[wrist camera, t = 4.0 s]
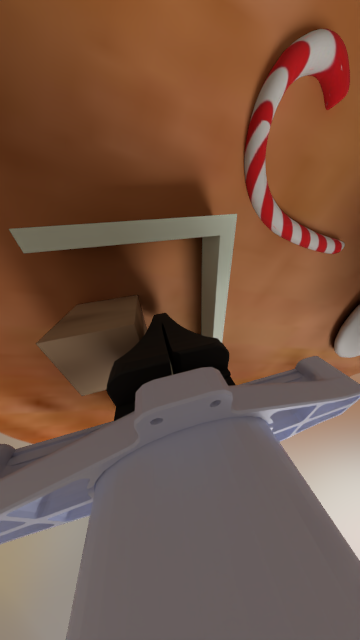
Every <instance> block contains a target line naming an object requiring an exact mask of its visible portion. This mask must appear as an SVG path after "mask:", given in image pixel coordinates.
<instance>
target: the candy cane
mask: <svg viewBox="0 0 360 640" xmlns="http://www.w3.org/2000/svg"><path fill="white" fill-rule="evenodd" d="M306 75H311V76H314V77H316V78H317V79H318V80H319V83H320V85H321V88H322V91H323V95H324V102H325V107H326V110H329V109H330V108H332V107H333V106H335V105H336V104H337V103H339V102H340V101H341V100H342V99H343V98H344V97H345V96H346V94H347V93H348V90H349V85H350V69H349V61H348V54H347V50H346V46H345V44H344V42H343V40H342V39H341V38H340V36H339V35H338V34H337V33H335V32H334V31H331V30H329V29H318V30H315V31H312V32H310V33H308V34H306V35H304V36H302V37H301V38H299V39H298V40H296V41H295V42H294V43H293V44H291V45H290V46H289V47H288V48H287V49H286V50H285V51H284V52H283V53H282V55H281V56H280V58H279V59H278V60H277V62H276V63H275V65H274V66H273V68H272V69H271V71H270V73H269V75H268V77H267V79H266V80H265V82H264V85H263V87H262V89H261V91H260V93H259V96H258V98H257V101H256V104H255V106H254V110H253V113H252V116H251V120H250V124H249V128H248V133H247V139H246V146H245V159H244V168H245V181H246V186H247V191H248V195H249V198H250V201H251V203H252V206H253V208H254V210H255V211H256V213H257V215H258V216H259V218H260V219H261V220H262V221H263V223H264V224H265V225H266V226H267V227H268V228H269V229H270V230H272V231H273V232H274V233H276V234H277V235H279V236H281V237H282V238H284V239H286V240H288V241H290V242H293V243H295V244H297V245H300V246H302V247H305V248H308V249H311V250H315V251H319V252H323V253H329V254H335V253H338V252H340V251H341V250H342V249H343V248H344V245H345V244H344V242H342V241H340V240H337V239H334V238H330V237H327V236H324V235H321V234H319V233H316V232H314V231H312V230H310V229H308V228H306V227H304V226H302V225H300V224H299V223H297V222H295V221H294V220H292V219H291V218H290V217H288V216H287V215H286V214H285V213H284V212H283V211H282V210H281V209H280V208H279V207H278V205H277V204H276V202H275V201H274V199H273V197H272V195H271V193H270V190H269V187H268V183H267V178H266V169H265V155H266V145H267V139H268V134H269V130H270V126H271V123H272V119H273V116H274V114H275V111H276V109H277V106H278V104H279V102H280V100H281V98H282V96H283V94H284V93H285V91H286V90H287V88H288V87H289V85H291V84H292V83H293V82H294V81H295V80H297V79H298V78H300V77H302V76H306Z"/></svg>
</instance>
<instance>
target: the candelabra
mask: <svg viewBox="0 0 360 640" xmlns="http://www.w3.org/2000/svg"><path fill="white" fill-rule="evenodd" d="M334 351H335V352H336V353H337V354H338V355H339V356H340V357H349V358H351V357H355V356H359V355H360V304H359V305H358V306H357V307H356V308H355V309H354V310H353V312H352V313H351V314H350V315H349V317H348V318H347V319H346V321H345V322H344V324H343V325H342V326H341V328H340V330H339V332H338V335H337V337H336V339H335V342H334Z"/></svg>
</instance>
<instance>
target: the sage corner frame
mask: <svg viewBox="0 0 360 640" xmlns="http://www.w3.org/2000/svg"><path fill="white" fill-rule="evenodd" d="M236 219H237V214H229V215H214V216H198V217H183V218H168V219H152V220H137V221H122V222H106V223H91V224H76V225H60V226H45V227H30V228H14V229H9V230H10V232H11V234H12V235H13V237H14V238H15V240H16V242H17V243H18V245H19V246H20V248H21V250H22V251H23V253H33V252H44V251H55V250H66V249H77V248H88V247H99V246H110V245H121V244H132V243H143V242H154V241H165V240H175V239H186V238H197V237H202V308H201V335H203V336H207V337H213V338H218V339H219V341H220V342H221V343H222V339H223V330H224V322H225V313H226V305H227V296H228V287H229V279H230V270H231V262H232V253H233V245H234V236H235V228H236ZM170 365H171V362H170ZM171 371H172V367H171ZM172 375H173V371H172Z"/></svg>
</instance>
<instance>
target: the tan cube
mask: <svg viewBox="0 0 360 640" xmlns="http://www.w3.org/2000/svg"><path fill="white" fill-rule="evenodd" d="M146 331H147V328H146V324H145V320H144V317H143V313H142V310H141V306H140V302H139V299H138V295H134V296H128V297H122V298H116V299H110V300H103V301H97V302H91V303H85V304H79V305H76V306H75V307H74V308H73V309H72V310H71V311H70V312H69V313H68V314H66V315H65V316H64V317H63V318H62V319H61V320H60V321H59V322H58V323H57V324H56V325H55V326H54V327H53V328H52V329H51V330H50V331H49V332H47V333H46V334H45V335H44V336H43V337H42V338H41V339H40V340H39V341H38V342H37V343H36V344H37V346H38V347H39V348H40V349H41V350H42V351H43V352H44V354H45V355H46V356H47V357H48V358H49V359H50V360H51V361H52V363H53V364H54V365H55V366H56V367H57V368H58V369H59V371H60V372H61V373H62V374H63V375H64V376H65V377H66V379H67V380H68V381H69V382H70V383H71V384H72V385H73V386H74V388H75V389H76V390H77V391H78V392H79V393H80V394H81V396H84V395H88V394H92V393H95V392H99V391H103V390H106V388H107V382H108V379H109V375H110V371H111V369H112V366H113V364H114V361H116V360H117V359H119V358H120V357H122V356H123V355H124V354H126V353H127V352H128V351H130V350H131V349H132V348H133V347H134V346H135V345H136V344H137V343H138V342H139V341H140V340H141V339H142V337H143V336H144V335H145V333H146Z"/></svg>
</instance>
